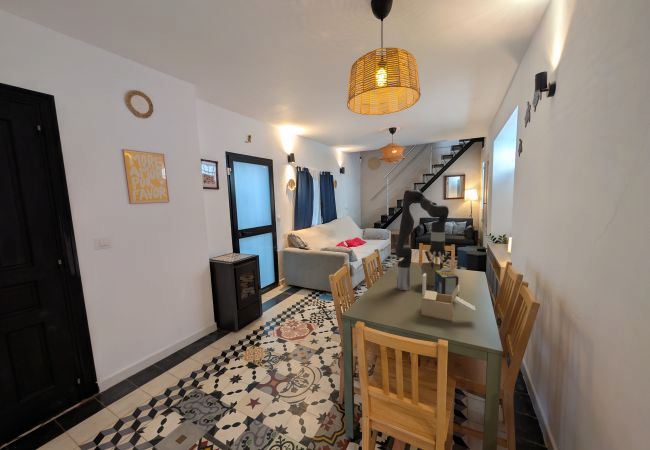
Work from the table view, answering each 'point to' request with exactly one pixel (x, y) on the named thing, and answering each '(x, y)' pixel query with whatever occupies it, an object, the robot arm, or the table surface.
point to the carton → (438, 307)
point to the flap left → (427, 294)
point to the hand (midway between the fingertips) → (436, 268)
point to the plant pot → (430, 272)
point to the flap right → (460, 301)
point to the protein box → (445, 282)
